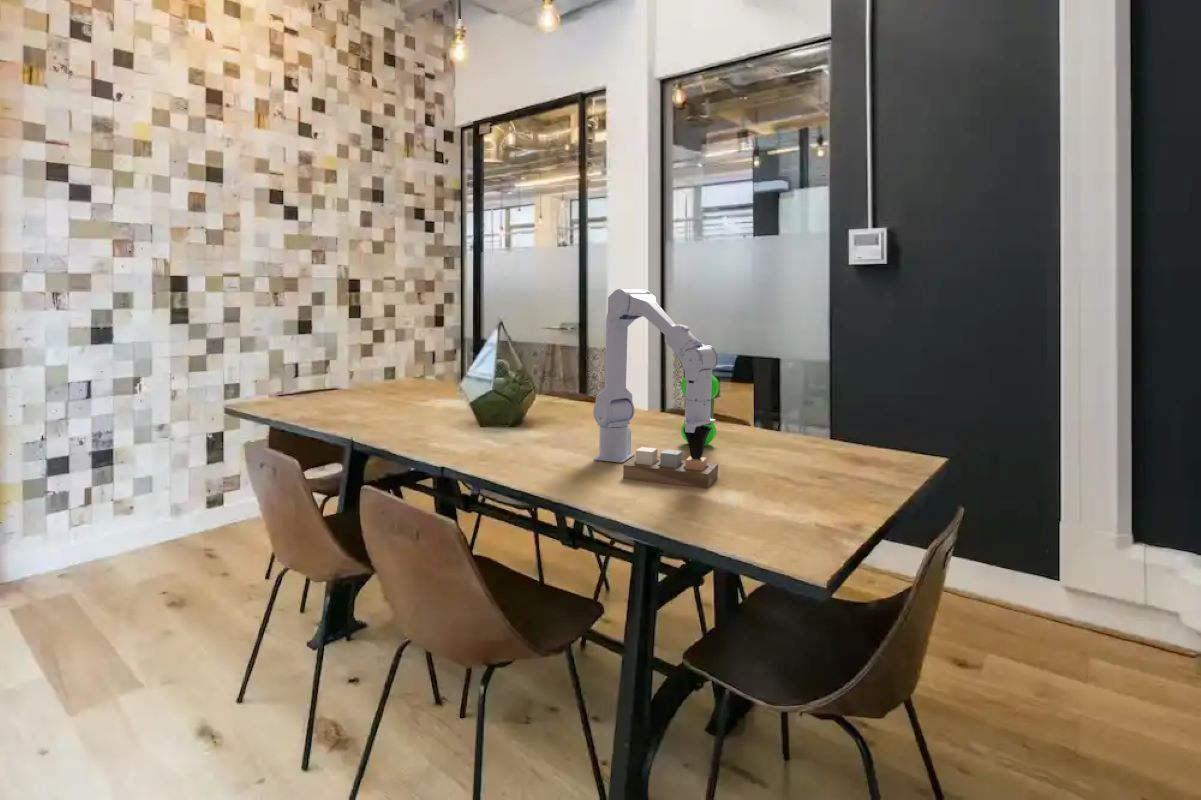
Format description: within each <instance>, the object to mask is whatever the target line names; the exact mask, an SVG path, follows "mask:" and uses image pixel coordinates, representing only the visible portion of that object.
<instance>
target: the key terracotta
mask: <svg viewBox="0 0 1201 800" xmlns="http://www.w3.org/2000/svg"><path fill="white" fill-rule="evenodd" d="M685 461H686V464H685V469H692V470H702V471H704V470H705V469H707V463H708V458H707V457H701V458H700V459H696V458H691V455H689V456H688V457H687V458H686V459H685Z"/></svg>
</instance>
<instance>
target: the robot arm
mask: <svg viewBox="0 0 1201 800" xmlns="http://www.w3.org/2000/svg"><path fill="white" fill-rule="evenodd" d="M642 317H644V318H645V319H646V320H647V321H649V323H650V324H652V325H653V326H654V327H655V328H656V329H657V330H658V331H660V332H661V333H662V334H663V335H664V342H665V344H666V345H667V346H668V347H669V348H670V349H671V350H672V351H673V352H674V353H675V354H676V355H677V356H678V357H679V358H680V361H681V362H680V364H681V366H682V368H683V371H684V378H685V377H686V397H685V402H686V405H685V406H684V408H685V409H684V418H683V422H685V427H684V428H683V431H684V433H685V435H686V438H687V440H688V442H687V444H688V448H689V453H690V456H691V458H696V459H700V458H701V457H702V456H703V454H704V448H705V446H704V445H705V442H706V439H707V436H708V434H709V432H710V430H711V427H710V426H704V425H705V424H709V423H714V424H715V423H716V418H713V419H711V418H710V413H711V387H712V375H713V370H715V368H716V367H717V365H718V361H719V357H718V353H717V351H716V350H715V348H714V347H713V346H712V345H705V344H704V343H703V342H702V341H701V340H700V339H698V338H697V337H696V336H695V335H694V334H693V332H691V331H690V328H689V326H687V325H683V324H675V322H674V321H673V320H672V319H671V316H669V315H668V314H667V313H666V311H664V309H663V308H662V307H661V306H660V305H659V304H658V302H657V297H656V296H655V295H653V294H652V293H651V292H650V290H648V289H646V288H645V289H644V288H642V289H623V288H618V289H615V290H613V292H612V293H610V295H609V296H608V297H607V313H606V318H605V354H604V355H605V359H604V367H605V368H604V387H603V388H602V389H601V390H600V391H599V392H598V393H597V394H596V395H595V403H594V405H593V410H592V413H593V418H594V420H595V423H596V424H597V426H599V454H598V455H597V456H595V457H593V460H594V461H601V462H602V461H603V462H611V463H612V462H613V463H619V464H621V463H624V462H626V461H627V460H629V459H630V458H632V457H634V456H635V453H634V452H632V430H631V428H630V426H629V425H630V424H631V423H630V422H631V421H632V419H633V418H634V416H635V405H634V403H633V394H632V393H631V392H630V391H629V390H628V388H627V368H628V367H627V360H628V359H627V358H628V332H629V331H628V328H629V326H630V325H632V323H633V322H635V320H638V319H640V318H642Z"/></svg>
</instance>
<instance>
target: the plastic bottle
mask: <svg viewBox="0 0 1201 800" xmlns="http://www.w3.org/2000/svg"><path fill="white" fill-rule="evenodd" d="M680 385H681V393H682V394H683V395H684V397H685V398H686V377H685V376H684V378H683V379H682V381H681V384H680ZM719 390H720V382H719V380H718V379H717V377H716V376H715V375H714V374H712V387H711V413H710V418H711V419H714V413H715V411H714V409H715V397H716V396H717V395H718V394H719ZM685 405H686V401H685ZM683 422H684V421H683ZM704 426H710V427H711V430H710V432H709V434H708V436H707V439H706V442H705V445H704V447H707V446H708V445H709V444H710V443H711V442H712V441H713V440H714V439H715V437H716V436H717V428H716V425H715V423H709V424H705V425H704ZM684 427H685V422H684V423H683V425H682V426H681V428H680V429H681V432H680V433H681V436H682V438H683V439H684V440H685V441H686V442H687V443H688V440H687V438H686V435H685V433H684V431H683V428H684Z"/></svg>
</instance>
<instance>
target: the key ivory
mask: <svg viewBox="0 0 1201 800" xmlns="http://www.w3.org/2000/svg"><path fill="white" fill-rule="evenodd" d="M635 457H636V464H645V465H655V464H656V463H657V458H658V448H655V447H654V448H653V447H646V446H641V447H639V448H638V449H636V450H635Z"/></svg>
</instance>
